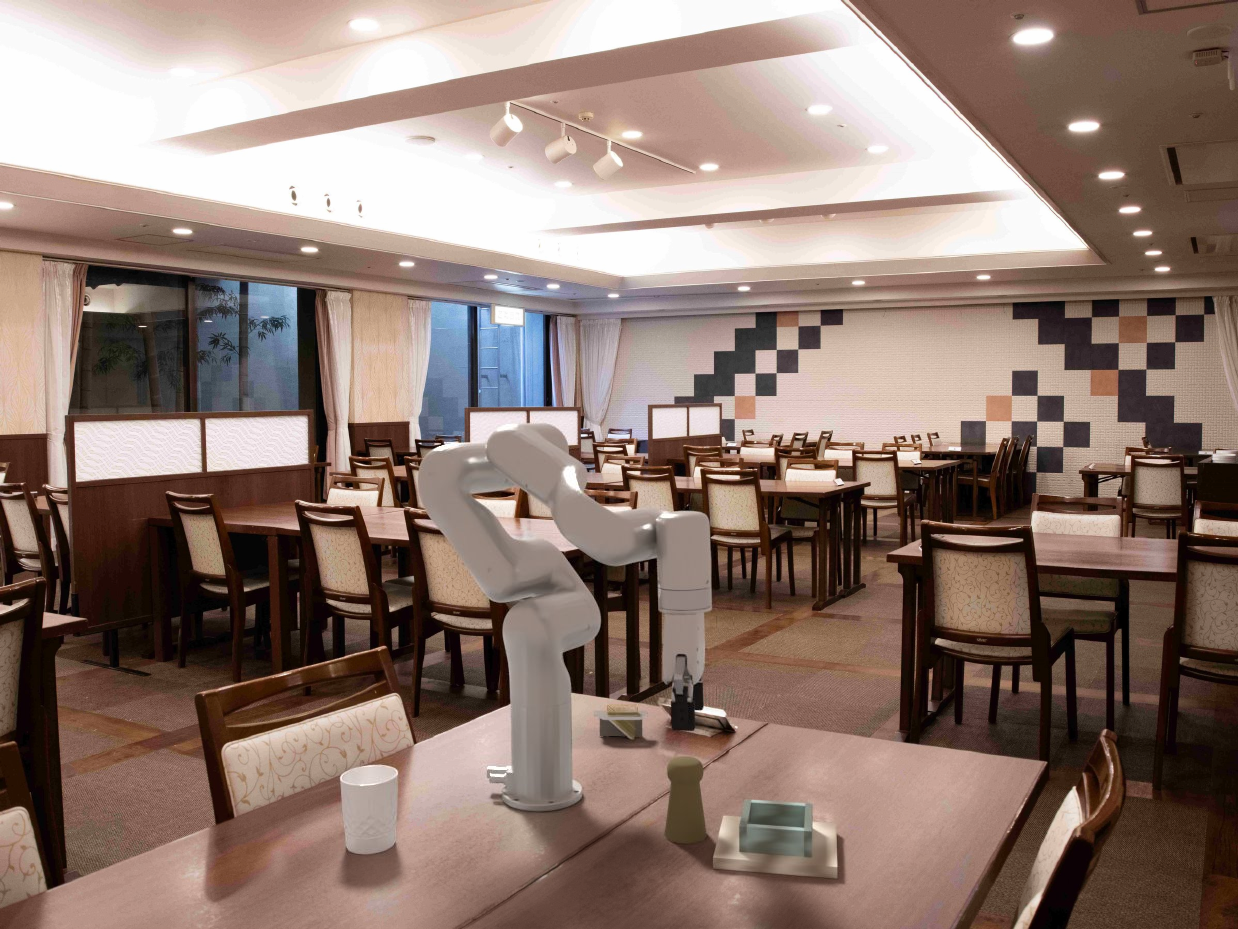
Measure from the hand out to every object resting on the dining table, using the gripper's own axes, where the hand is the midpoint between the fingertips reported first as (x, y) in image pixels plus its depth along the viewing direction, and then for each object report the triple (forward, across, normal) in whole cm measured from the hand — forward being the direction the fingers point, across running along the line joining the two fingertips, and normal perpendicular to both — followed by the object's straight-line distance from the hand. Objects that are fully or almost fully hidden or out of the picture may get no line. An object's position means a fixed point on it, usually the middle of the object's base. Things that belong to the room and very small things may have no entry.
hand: (688, 719), depth 142 cm
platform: (+17, -40, -18) cm, 47 cm away
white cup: (+16, +11, -44) cm, 48 cm away
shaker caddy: (+17, +3, +12) cm, 21 cm away
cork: (+17, 0, -1) cm, 17 cm away
